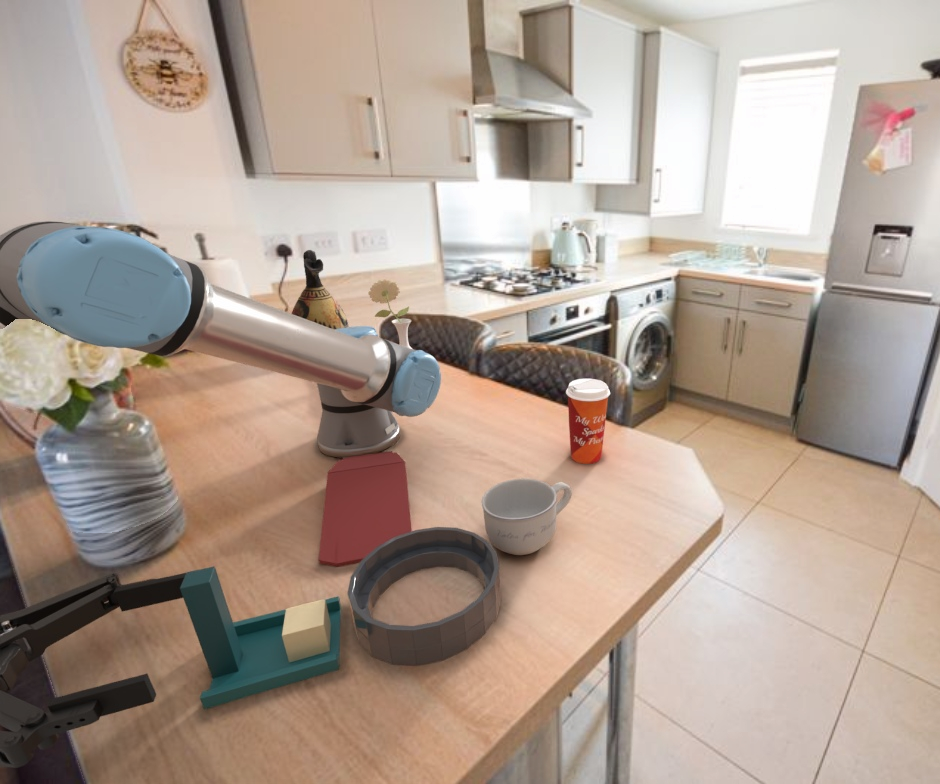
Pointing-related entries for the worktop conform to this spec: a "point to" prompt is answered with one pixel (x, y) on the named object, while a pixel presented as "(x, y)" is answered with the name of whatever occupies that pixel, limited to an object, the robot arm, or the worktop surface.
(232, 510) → the worktop surface
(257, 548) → the worktop surface
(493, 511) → the teacup
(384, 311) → the flower in vase
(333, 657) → the teal post tray
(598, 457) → the coffee cup
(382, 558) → the dark grey ring
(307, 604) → the cream block
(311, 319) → the ceramic jug
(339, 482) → the red flat panel
